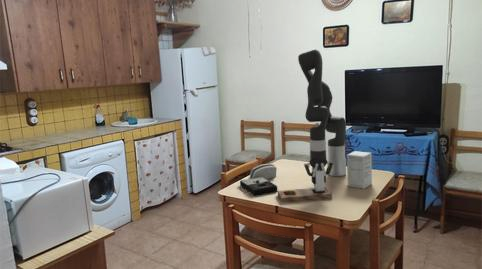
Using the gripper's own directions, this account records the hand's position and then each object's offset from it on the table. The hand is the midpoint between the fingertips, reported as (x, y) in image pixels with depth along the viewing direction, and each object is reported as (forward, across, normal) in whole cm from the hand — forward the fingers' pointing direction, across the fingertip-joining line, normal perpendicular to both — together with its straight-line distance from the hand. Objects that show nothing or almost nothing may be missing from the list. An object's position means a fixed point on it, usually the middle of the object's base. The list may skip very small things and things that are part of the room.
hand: (318, 183), depth 175 cm
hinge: (+7, +22, -34) cm, 41 cm away
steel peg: (+3, 0, 0) cm, 3 cm away
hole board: (+6, +7, 0) cm, 10 cm away
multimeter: (+7, +27, -18) cm, 34 cm away
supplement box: (+7, -25, -11) cm, 28 cm away
